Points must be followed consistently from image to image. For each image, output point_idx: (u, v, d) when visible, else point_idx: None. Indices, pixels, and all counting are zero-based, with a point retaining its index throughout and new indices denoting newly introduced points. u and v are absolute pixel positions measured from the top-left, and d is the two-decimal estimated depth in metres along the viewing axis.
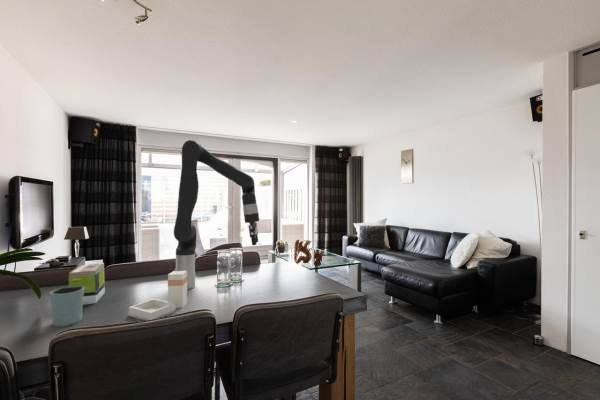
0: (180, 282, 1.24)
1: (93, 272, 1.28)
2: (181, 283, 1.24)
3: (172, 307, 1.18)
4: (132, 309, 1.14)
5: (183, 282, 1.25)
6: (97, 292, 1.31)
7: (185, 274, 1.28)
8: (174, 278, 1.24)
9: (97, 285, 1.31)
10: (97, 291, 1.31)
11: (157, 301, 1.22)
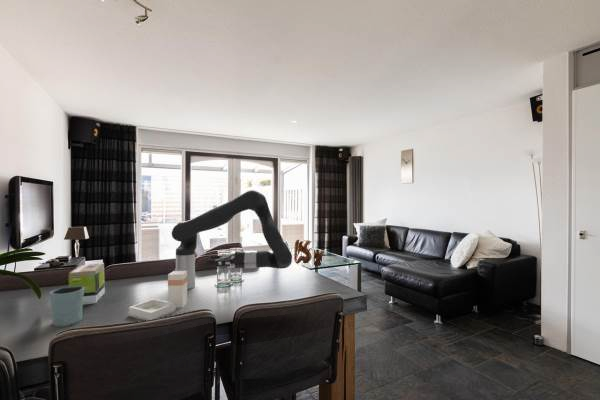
0: (180, 282, 1.24)
1: (93, 272, 1.28)
2: (181, 283, 1.24)
3: (172, 307, 1.18)
4: (132, 309, 1.14)
5: (183, 282, 1.25)
6: (97, 292, 1.31)
7: (185, 274, 1.28)
8: (174, 278, 1.24)
9: (97, 285, 1.31)
10: (97, 291, 1.31)
11: (157, 301, 1.22)
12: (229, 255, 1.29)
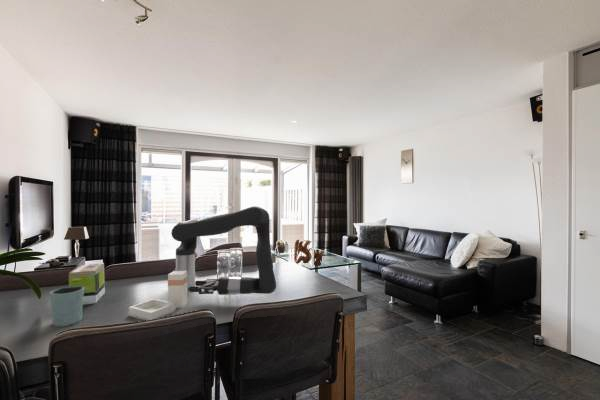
0: (180, 282, 1.24)
1: (93, 272, 1.28)
2: (181, 283, 1.24)
3: (172, 307, 1.18)
4: (132, 309, 1.14)
5: (183, 282, 1.25)
6: (97, 292, 1.31)
7: (185, 274, 1.28)
8: (174, 278, 1.24)
9: (97, 285, 1.31)
10: (97, 291, 1.31)
11: (157, 301, 1.22)
12: (213, 281, 1.29)
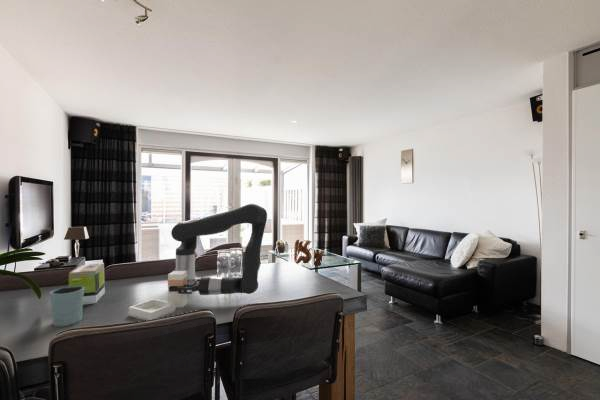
0: (180, 282, 1.24)
1: (93, 272, 1.28)
2: (181, 283, 1.24)
3: (172, 307, 1.18)
4: (132, 309, 1.14)
5: (183, 282, 1.25)
6: (97, 292, 1.31)
7: (185, 274, 1.28)
8: (174, 278, 1.24)
9: (97, 285, 1.31)
10: (97, 291, 1.31)
11: (157, 301, 1.22)
12: (195, 281, 1.28)
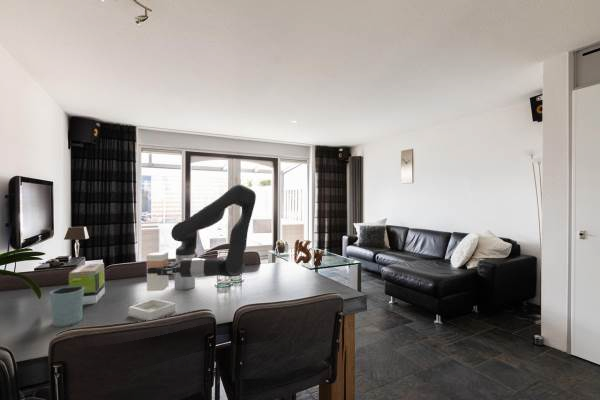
0: (160, 263, 1.16)
1: (93, 272, 1.28)
2: (161, 264, 1.16)
3: (172, 307, 1.18)
4: (132, 309, 1.14)
5: (163, 264, 1.16)
6: (97, 292, 1.31)
7: (166, 255, 1.19)
8: (154, 259, 1.15)
9: (97, 285, 1.31)
10: (97, 291, 1.31)
11: (157, 301, 1.22)
12: (176, 263, 1.20)
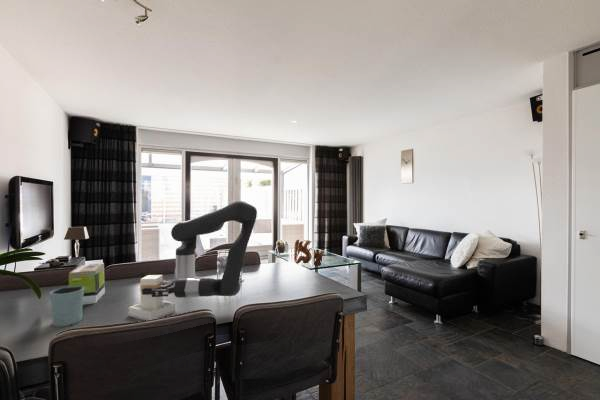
0: (154, 287, 1.14)
1: (93, 272, 1.28)
2: None
3: (172, 307, 1.18)
4: (132, 309, 1.14)
5: None
6: (97, 292, 1.31)
7: (160, 278, 1.18)
8: (147, 283, 1.14)
9: (97, 285, 1.31)
10: (97, 291, 1.31)
11: None
12: (170, 283, 1.18)
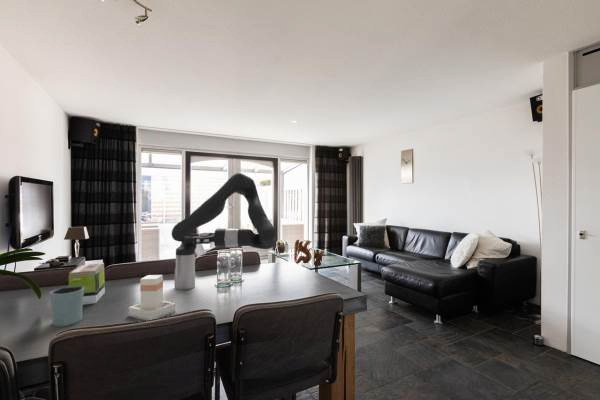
0: (154, 287, 1.14)
1: (93, 272, 1.28)
2: (155, 288, 1.14)
3: (172, 307, 1.18)
4: (132, 309, 1.14)
5: (157, 288, 1.15)
6: (97, 292, 1.31)
7: (160, 278, 1.18)
8: (147, 283, 1.14)
9: (97, 285, 1.31)
10: (97, 291, 1.31)
11: None
12: (209, 233, 1.21)
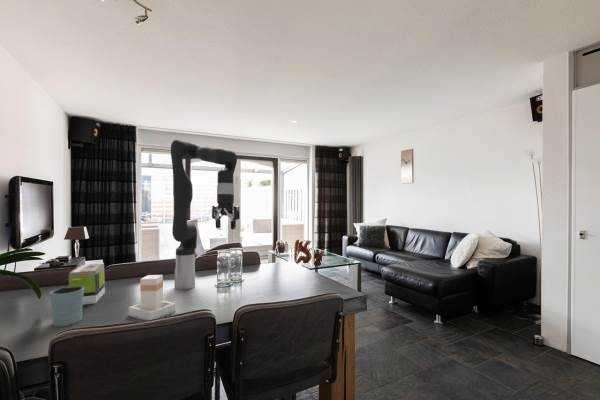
0: (154, 287, 1.14)
1: (93, 272, 1.28)
2: (155, 288, 1.14)
3: (172, 307, 1.18)
4: (132, 309, 1.14)
5: (157, 288, 1.15)
6: (97, 292, 1.31)
7: (160, 278, 1.18)
8: (147, 283, 1.14)
9: (97, 285, 1.31)
10: (97, 291, 1.31)
11: None
12: (221, 209, 1.33)
